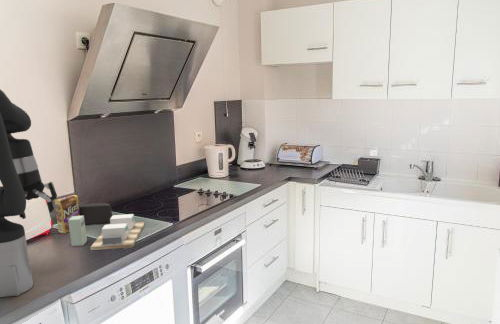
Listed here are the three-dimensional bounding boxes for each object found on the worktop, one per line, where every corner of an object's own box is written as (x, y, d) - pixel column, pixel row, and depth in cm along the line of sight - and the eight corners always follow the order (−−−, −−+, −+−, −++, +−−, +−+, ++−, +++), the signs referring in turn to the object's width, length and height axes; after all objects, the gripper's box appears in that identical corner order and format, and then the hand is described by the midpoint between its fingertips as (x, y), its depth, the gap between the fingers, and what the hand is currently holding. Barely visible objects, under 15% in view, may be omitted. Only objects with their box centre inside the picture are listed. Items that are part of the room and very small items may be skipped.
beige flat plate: (122, 244, 147) (122, 243, 147) (101, 246, 146) (101, 244, 146) (135, 222, 171) (135, 221, 171) (117, 223, 171) (117, 222, 171)
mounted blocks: (124, 242, 147) (122, 230, 146) (100, 244, 147) (98, 232, 146) (137, 221, 171) (135, 211, 170) (116, 223, 170) (115, 212, 169)
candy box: (64, 234, 164) (59, 200, 161) (58, 232, 166) (53, 199, 163) (81, 227, 172) (77, 195, 169) (75, 226, 174) (71, 194, 171)
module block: (83, 245, 151) (80, 219, 149) (71, 246, 151) (68, 219, 149) (87, 240, 155) (84, 215, 153) (75, 241, 155) (72, 216, 153)
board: (132, 247, 147) (132, 244, 147) (90, 250, 146) (90, 247, 145) (145, 224, 172) (144, 221, 172) (109, 226, 171) (109, 224, 171)
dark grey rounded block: (114, 220, 180) (112, 201, 178) (112, 223, 175) (110, 204, 173) (79, 222, 178) (77, 203, 176) (76, 226, 174) (73, 206, 172)
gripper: (-2, 176, 122) (12, 223, 125) (47, 167, 127) (59, 212, 130) (4, 173, 129) (17, 217, 132) (49, 164, 134) (61, 207, 137)
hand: (38, 215), depth 131 cm, fingers open, 8 cm apart
